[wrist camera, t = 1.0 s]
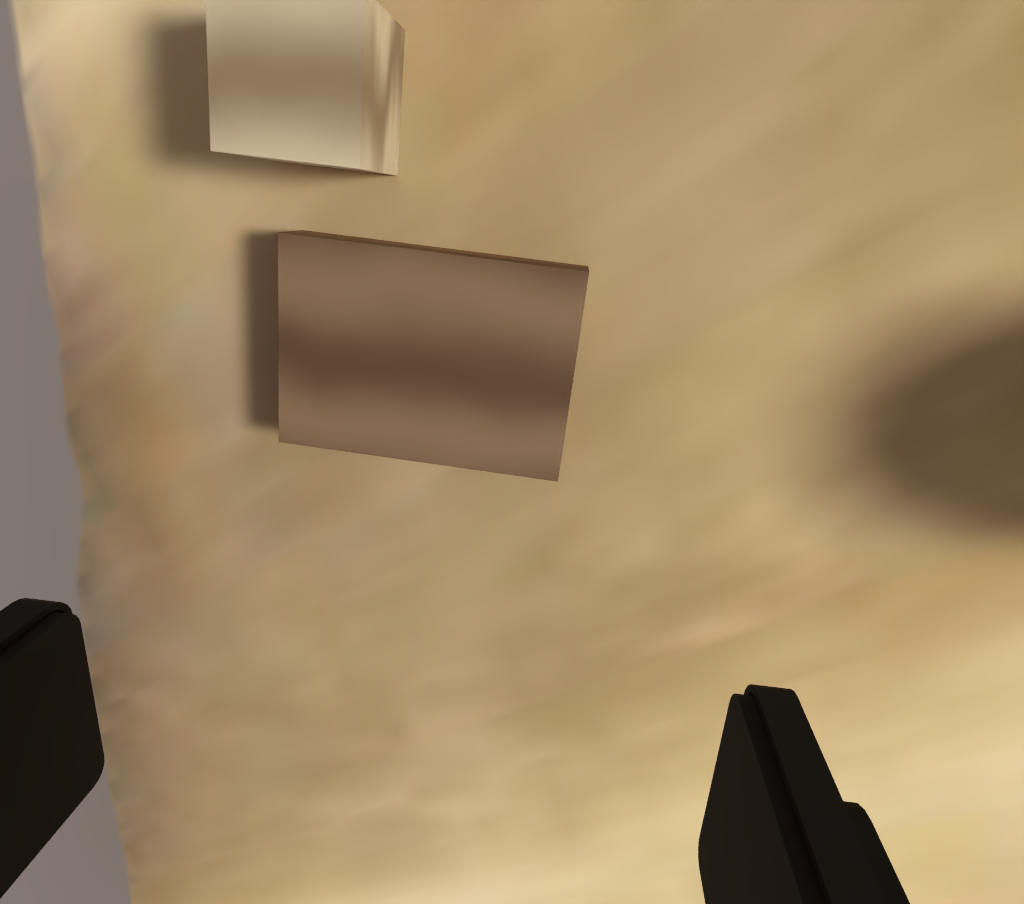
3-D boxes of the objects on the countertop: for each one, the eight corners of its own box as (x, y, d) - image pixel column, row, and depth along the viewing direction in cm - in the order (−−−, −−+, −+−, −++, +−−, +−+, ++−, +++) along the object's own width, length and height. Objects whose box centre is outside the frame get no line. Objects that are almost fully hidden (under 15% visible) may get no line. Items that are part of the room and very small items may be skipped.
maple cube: (273, 15, 31) (204, -28, 25) (405, 30, 30) (365, -11, 25) (274, 160, 33) (210, 150, 27) (397, 175, 32) (359, 168, 27)
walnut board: (303, 230, 33) (277, 232, 31) (588, 266, 33) (588, 271, 30) (301, 424, 37) (278, 441, 34) (559, 460, 36) (557, 481, 33)
